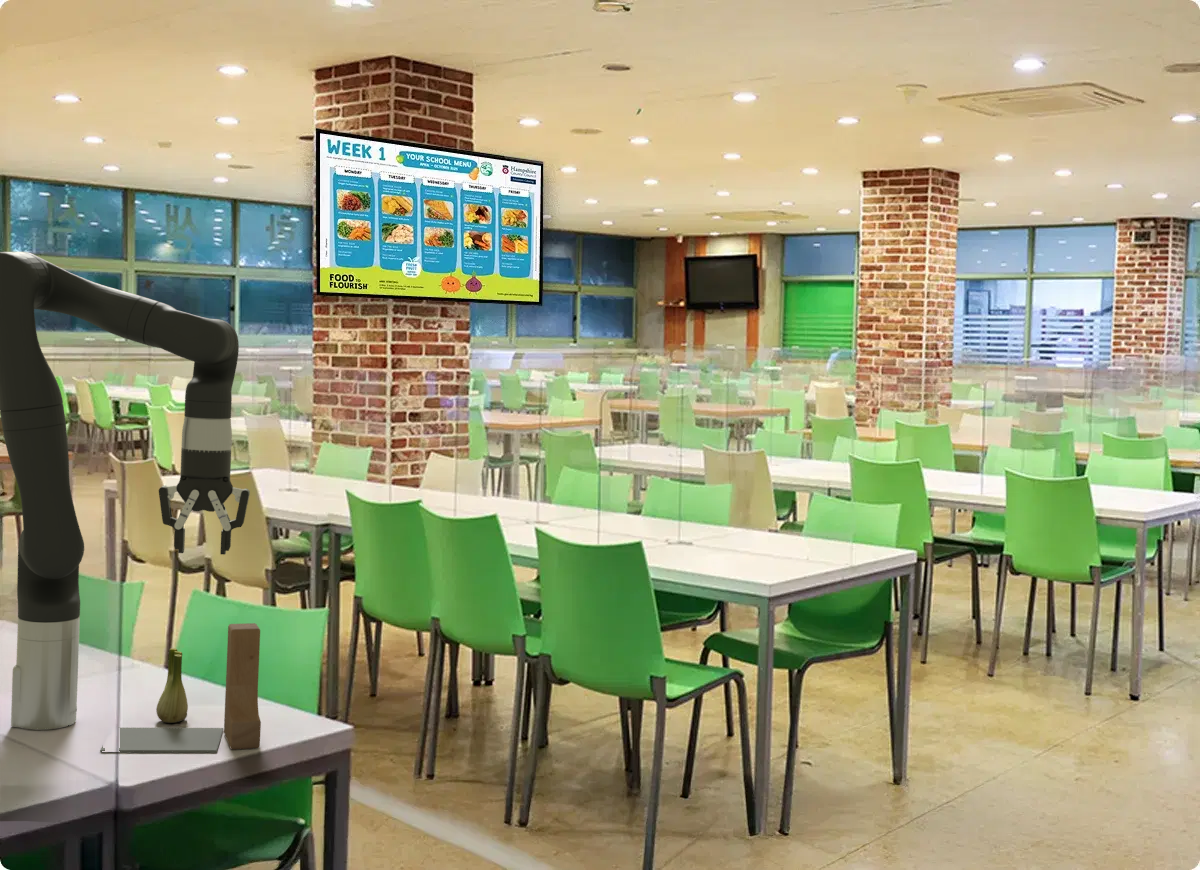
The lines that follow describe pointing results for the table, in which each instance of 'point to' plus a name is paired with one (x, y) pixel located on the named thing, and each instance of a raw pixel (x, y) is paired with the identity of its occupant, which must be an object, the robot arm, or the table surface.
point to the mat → (169, 740)
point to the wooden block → (242, 687)
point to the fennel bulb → (173, 692)
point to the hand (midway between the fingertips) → (202, 552)
